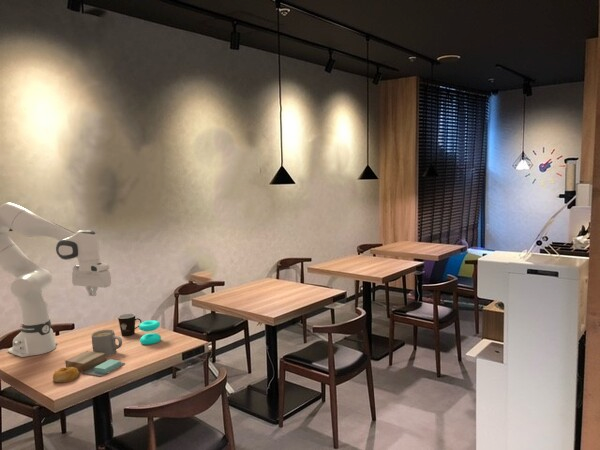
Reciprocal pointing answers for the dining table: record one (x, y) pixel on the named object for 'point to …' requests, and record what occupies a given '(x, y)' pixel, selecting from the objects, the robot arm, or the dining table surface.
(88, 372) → the mat
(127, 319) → the coffee mug
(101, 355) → the brown block
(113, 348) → the coffee mug
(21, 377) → the dining table surface
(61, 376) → the bagel
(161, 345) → the dining table surface
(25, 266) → the robot arm
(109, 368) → the mint green block
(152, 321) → the donuts
